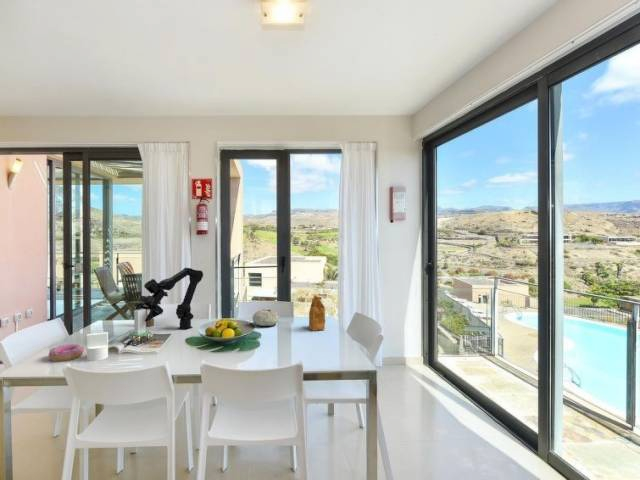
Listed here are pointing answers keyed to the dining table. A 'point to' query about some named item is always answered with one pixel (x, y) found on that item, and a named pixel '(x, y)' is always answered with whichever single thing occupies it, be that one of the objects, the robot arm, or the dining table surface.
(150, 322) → the brown boot
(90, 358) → the cylinder with rectangular tab
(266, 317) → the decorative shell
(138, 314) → the column on green base
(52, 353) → the donut
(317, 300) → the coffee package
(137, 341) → the plate
